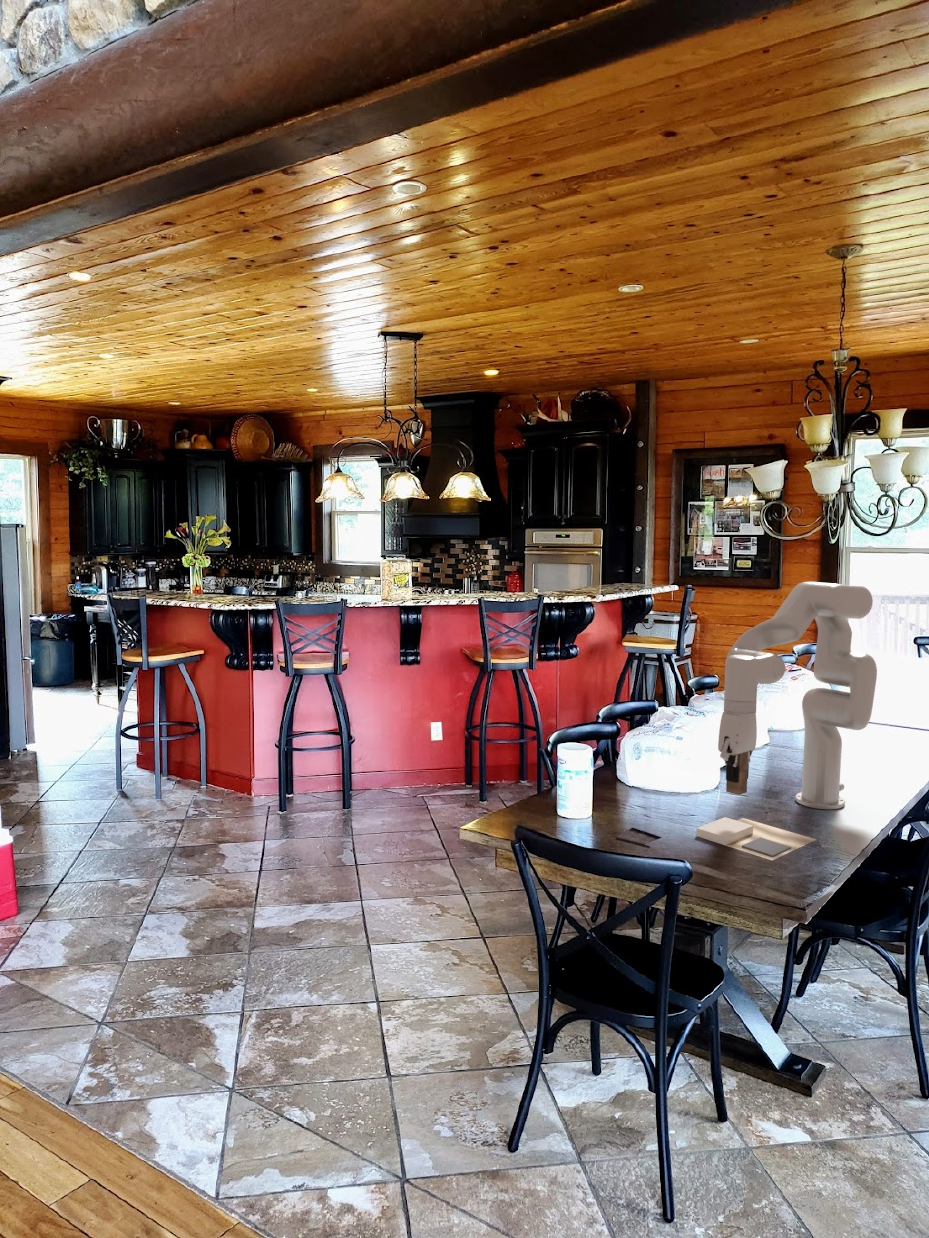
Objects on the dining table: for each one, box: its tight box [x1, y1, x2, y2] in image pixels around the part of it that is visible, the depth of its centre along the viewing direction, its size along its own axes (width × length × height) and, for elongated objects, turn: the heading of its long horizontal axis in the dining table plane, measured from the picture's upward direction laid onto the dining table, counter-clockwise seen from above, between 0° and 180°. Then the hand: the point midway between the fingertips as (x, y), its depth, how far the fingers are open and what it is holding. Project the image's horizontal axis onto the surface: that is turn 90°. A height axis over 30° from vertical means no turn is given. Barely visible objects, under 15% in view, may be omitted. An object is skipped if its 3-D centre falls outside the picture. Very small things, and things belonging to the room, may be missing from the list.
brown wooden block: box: [725, 750, 749, 796], centre depth 222 cm, size 4×4×12 cm
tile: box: [695, 816, 753, 846], centre depth 221 cm, size 2×8×12 cm
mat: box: [742, 837, 791, 857], centre depth 213 cm, size 8×8×1 cm
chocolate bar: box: [615, 827, 663, 848], centre depth 226 cm, size 9×1×18 cm
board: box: [724, 817, 817, 861], centre depth 219 cm, size 20×20×1 cm
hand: (737, 779), depth 222 cm, fingers closed on brown wooden block, 3 cm apart
